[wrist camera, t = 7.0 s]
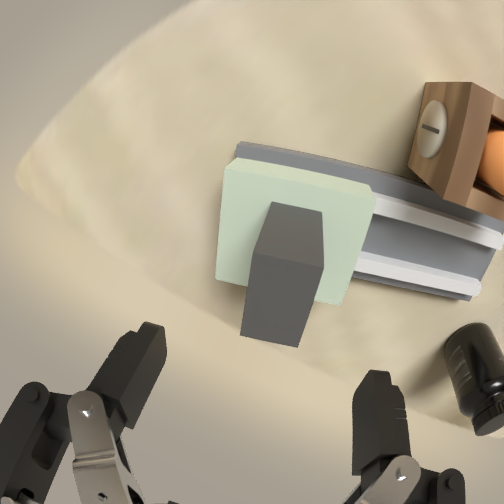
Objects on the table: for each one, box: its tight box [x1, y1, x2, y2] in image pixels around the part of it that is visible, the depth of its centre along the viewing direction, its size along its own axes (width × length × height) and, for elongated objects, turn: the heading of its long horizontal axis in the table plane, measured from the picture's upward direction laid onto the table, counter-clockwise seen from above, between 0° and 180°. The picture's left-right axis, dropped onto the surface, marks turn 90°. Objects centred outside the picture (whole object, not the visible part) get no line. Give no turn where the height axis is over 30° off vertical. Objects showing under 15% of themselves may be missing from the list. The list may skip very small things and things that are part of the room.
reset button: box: [476, 126, 504, 196], centre depth 13 cm, size 4×4×4 cm
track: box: [235, 141, 504, 301], centre depth 22 cm, size 24×9×3 cm, turn 82°
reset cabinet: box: [407, 82, 504, 222], centre depth 15 cm, size 9×7×8 cm
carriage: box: [215, 158, 377, 348], centre depth 17 cm, size 9×8×9 cm
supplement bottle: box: [444, 323, 504, 436], centre depth 22 cm, size 7×7×12 cm
